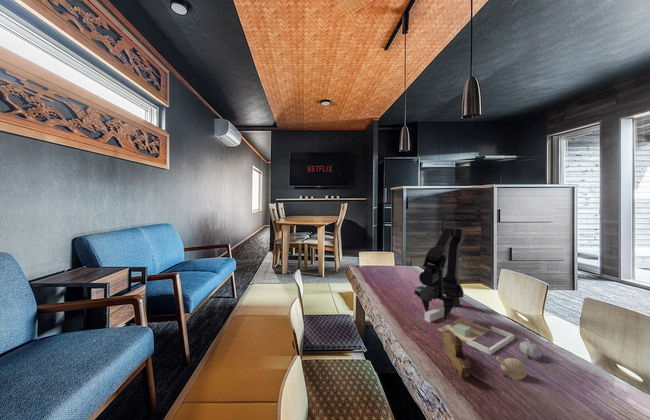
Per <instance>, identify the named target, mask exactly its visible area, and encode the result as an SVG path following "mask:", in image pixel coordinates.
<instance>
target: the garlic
mask: <svg viewBox="0 0 650 420" xmlns="http://www.w3.org/2000/svg"><path fill="white" fill-rule="evenodd" d="M518 348H519V351H520V352H521V353H523V354H525V355H527V358H529V359H532V360H533V359H536V358H537V357H538V356H539V355H540V349H539V347H538V345H536V344H535V343H533V342H531V340H530V339H528V338H524V341H521V342H520V343H519V346H518Z"/></svg>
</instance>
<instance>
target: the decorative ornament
mask: <svg viewBox="0 0 650 420" xmlns="http://www.w3.org/2000/svg"><path fill="white" fill-rule="evenodd" d="M496 361H497V362H499V364H500V368H501V369H502V371H504V372H506V373H504V375H505V376H506V377H508V378H510V379H513V380H520V381H521V380H523V379H525V377H527V373H526V367H525V365H524V363H523V361H521V360H520V359H518V358H516V357H515V358H513V357H508V358H505V359H504V357H502V356H498V355H497V356H496Z"/></svg>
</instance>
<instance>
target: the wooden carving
mask: <svg viewBox="0 0 650 420" xmlns="http://www.w3.org/2000/svg"><path fill="white" fill-rule="evenodd" d="M442 336H443V337H442V338H441V341H442V342H443V344H444V347H443V348H444V351H445V353H446V355H447V356H448V358H449V360H448V361H449V363H450V365H451V366H452V367H453V369H454V370H456V371H457V373H458V374H459V376H460V377H461V378H466V377H467V378H469V377H470V373H471V372H472V367H471V363H470V361H469V360H468V357H467V356H464V355H463V352H464V350H463V346H464V345H463V341H461V339H459V338H458V337H457V336H455V335H454V334H453V333H452V332H450V331H445V330H444V331H443V332H442Z"/></svg>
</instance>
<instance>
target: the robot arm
mask: <svg viewBox="0 0 650 420" xmlns="http://www.w3.org/2000/svg"><path fill="white" fill-rule="evenodd" d="M465 231H466V230H463V228H458V227H447V226H446V227H443V228H442V232H441V235H440V236H439V238H438V241H437V242H436V244H435V246H432V247H431V248H430V249H429V250H428V251H427V253H426V255H425V257H424V260H423V265H422V268H423V271H421V273H420V274H419V275H418V278H419V282H420V283H421V284H422V285H421V286H418V287H415V289H414V295H416V297H418V298H419V299H420V300H421V302H422V304H423V308H424V310H425V311H424V312H427V311H429V307H430V302H432V301H433V300H437V299H438V300H440V301H442V303H443V304H442V307H444V317H443V318H444V320H447V319H448V317H449V315H450V313H451V311H452V310H453V308H454V307H459V306H460V305H461V300H460V299H461V298H464V294H465V293H464V289H463V287H462V285H461V279H460V278H459V276H458V273H459V272H458V271H459V258H460V257H459V255H460V246H461V245H462V244H463V242H464V241H465V237H466V232H465ZM447 251H448V254H446V253H447ZM446 264H447V265H446ZM445 267H446V274H445V276H444V268H445Z"/></svg>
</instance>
